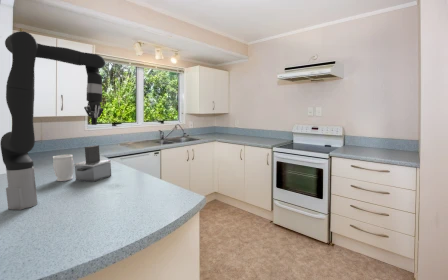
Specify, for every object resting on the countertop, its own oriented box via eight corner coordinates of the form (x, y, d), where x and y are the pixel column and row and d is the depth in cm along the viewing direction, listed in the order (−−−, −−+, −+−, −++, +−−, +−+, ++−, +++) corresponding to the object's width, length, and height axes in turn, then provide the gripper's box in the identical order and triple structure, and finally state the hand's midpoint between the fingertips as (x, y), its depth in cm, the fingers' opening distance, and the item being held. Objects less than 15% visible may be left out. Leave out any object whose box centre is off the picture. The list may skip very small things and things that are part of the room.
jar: (64, 182, 141) (62, 157, 139) (50, 181, 143) (47, 157, 141) (78, 177, 151) (77, 154, 149) (65, 176, 153) (63, 153, 151)
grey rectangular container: (90, 183, 139) (89, 168, 138) (71, 181, 143) (70, 166, 142) (114, 174, 158) (113, 161, 157) (97, 173, 162) (96, 160, 161)
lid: (93, 166, 140) (91, 148, 139) (74, 165, 144) (73, 147, 143) (110, 161, 154) (109, 145, 152) (93, 160, 158) (92, 144, 156)
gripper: (92, 91, 122) (91, 124, 123) (108, 94, 135) (107, 125, 136) (79, 90, 123) (78, 124, 124) (96, 94, 136) (96, 124, 137)
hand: (94, 124), depth 130 cm, fingers closed
